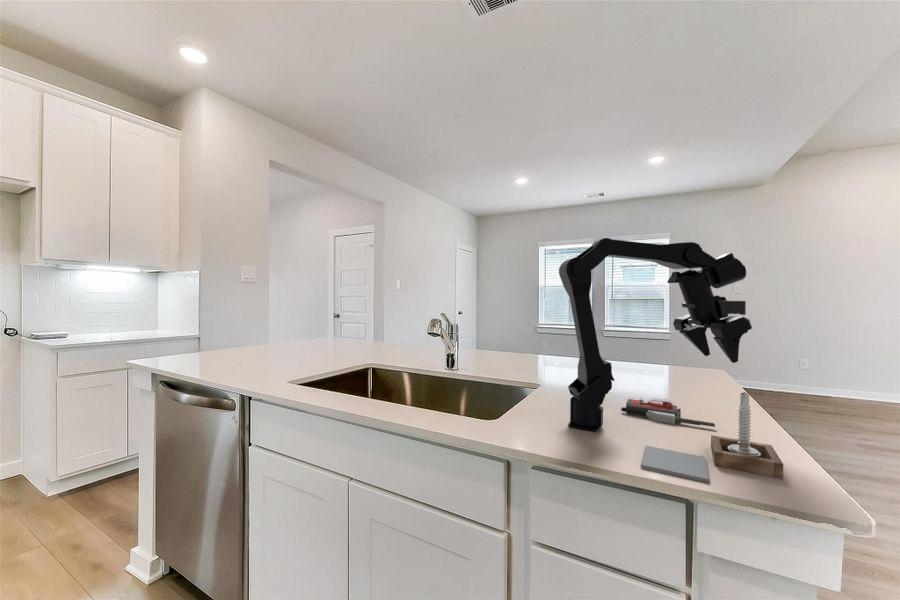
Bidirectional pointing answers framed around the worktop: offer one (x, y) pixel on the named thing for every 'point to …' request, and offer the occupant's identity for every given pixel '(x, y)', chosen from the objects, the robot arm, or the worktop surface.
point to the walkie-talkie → (659, 411)
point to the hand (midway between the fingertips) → (720, 358)
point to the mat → (675, 463)
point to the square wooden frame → (747, 458)
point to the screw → (744, 429)
